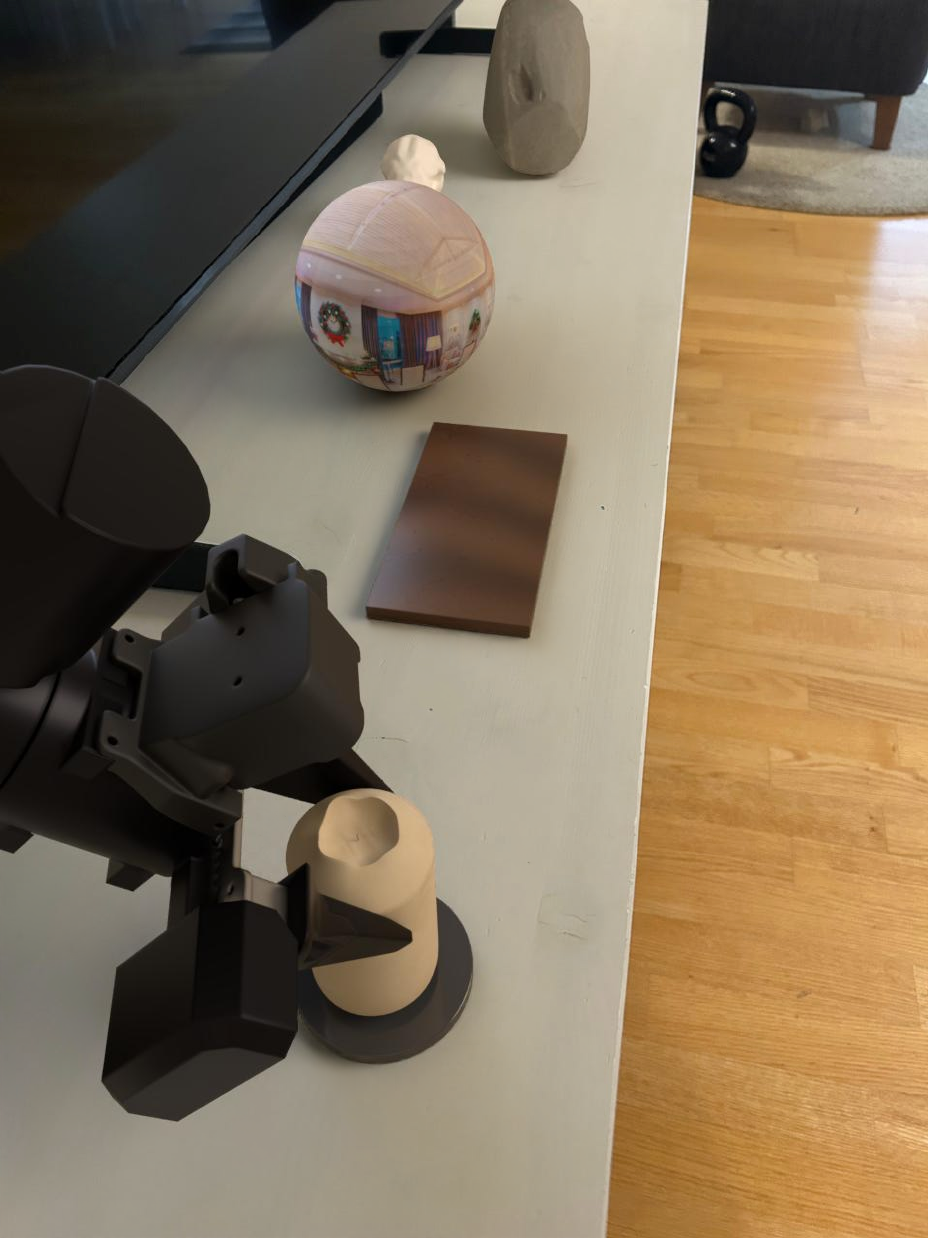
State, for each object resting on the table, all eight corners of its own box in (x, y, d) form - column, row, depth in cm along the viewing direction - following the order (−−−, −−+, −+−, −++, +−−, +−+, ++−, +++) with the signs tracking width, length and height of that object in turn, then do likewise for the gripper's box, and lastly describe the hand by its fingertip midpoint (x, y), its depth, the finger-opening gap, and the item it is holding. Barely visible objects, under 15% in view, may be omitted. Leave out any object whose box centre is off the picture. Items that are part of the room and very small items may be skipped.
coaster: (350, 1103, 40) (348, 1097, 39) (262, 950, 44) (259, 942, 44) (509, 994, 43) (509, 985, 42) (411, 861, 48) (410, 852, 47)
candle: (349, 1044, 40) (323, 924, 33) (290, 938, 43) (255, 808, 36) (463, 973, 42) (461, 846, 35) (398, 877, 45) (385, 743, 38)
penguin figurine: (445, 127, 94) (430, 188, 87) (449, 212, 101) (434, 275, 93) (381, 125, 95) (360, 186, 87) (388, 210, 101) (369, 273, 94)
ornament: (297, 344, 83) (269, 160, 72) (468, 320, 85) (466, 139, 75) (323, 443, 72) (295, 245, 62) (517, 412, 75) (522, 217, 64)
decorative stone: (481, 183, 107) (480, 27, 96) (485, 128, 119) (485, -16, 108) (591, 183, 106) (603, 26, 96) (584, 127, 118) (593, -17, 108)
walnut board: (529, 638, 58) (530, 626, 57) (366, 618, 59) (365, 606, 59) (567, 445, 72) (567, 433, 71) (433, 432, 73) (433, 421, 73)
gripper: (120, 876, 19) (613, 1036, 28) (191, 375, 32) (511, 590, 41) (-127, 1078, 24) (358, 1161, 33) (22, 572, 37) (340, 727, 46)
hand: (399, 873), depth 38 cm, fingers closed on candle, 5 cm apart
